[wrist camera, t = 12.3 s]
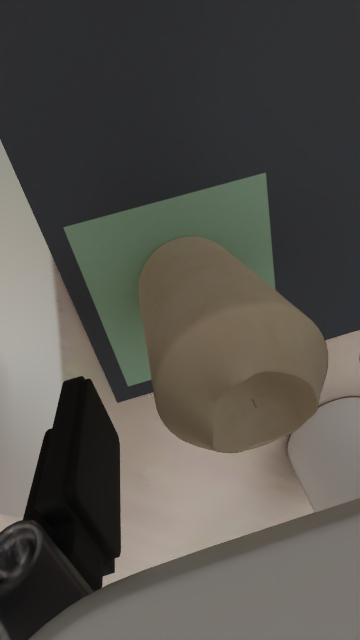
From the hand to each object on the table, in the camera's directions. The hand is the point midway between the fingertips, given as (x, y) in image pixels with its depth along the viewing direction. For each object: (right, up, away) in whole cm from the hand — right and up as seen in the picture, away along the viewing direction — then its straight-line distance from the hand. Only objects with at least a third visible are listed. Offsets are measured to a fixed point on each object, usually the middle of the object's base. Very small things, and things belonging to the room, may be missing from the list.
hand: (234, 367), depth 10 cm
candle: (-1, +4, +7) cm, 8 cm away
